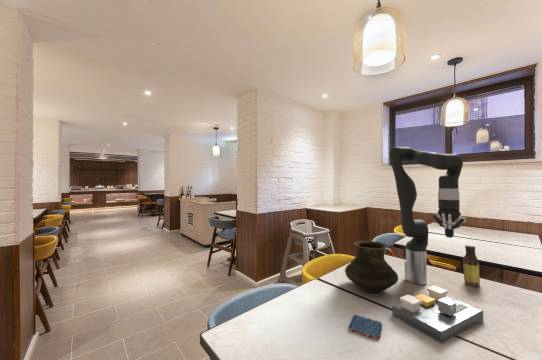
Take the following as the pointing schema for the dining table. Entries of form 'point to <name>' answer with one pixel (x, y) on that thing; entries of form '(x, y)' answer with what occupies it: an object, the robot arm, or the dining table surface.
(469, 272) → the sauce bottle
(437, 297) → the button right
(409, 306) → the button left
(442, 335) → the panel
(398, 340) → the dining table surface
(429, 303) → the button mid
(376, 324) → the woven mat
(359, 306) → the dining table surface
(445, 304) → the brushed metal cube
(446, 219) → the robot arm
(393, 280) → the ceramic pot
